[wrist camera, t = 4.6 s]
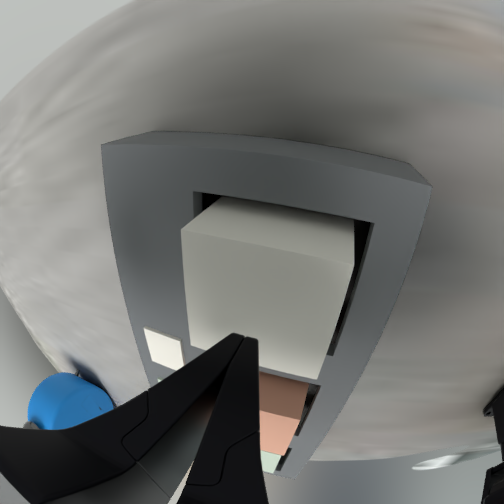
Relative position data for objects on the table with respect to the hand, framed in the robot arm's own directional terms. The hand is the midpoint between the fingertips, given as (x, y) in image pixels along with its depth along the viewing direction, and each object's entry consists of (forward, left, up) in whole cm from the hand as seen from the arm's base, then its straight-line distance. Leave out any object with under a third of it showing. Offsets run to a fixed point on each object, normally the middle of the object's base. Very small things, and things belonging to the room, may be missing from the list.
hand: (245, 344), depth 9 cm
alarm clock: (+24, +29, -8) cm, 39 cm away
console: (+2, +9, -7) cm, 12 cm away
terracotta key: (0, +9, -5) cm, 10 cm away
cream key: (0, 0, -5) cm, 5 cm away
